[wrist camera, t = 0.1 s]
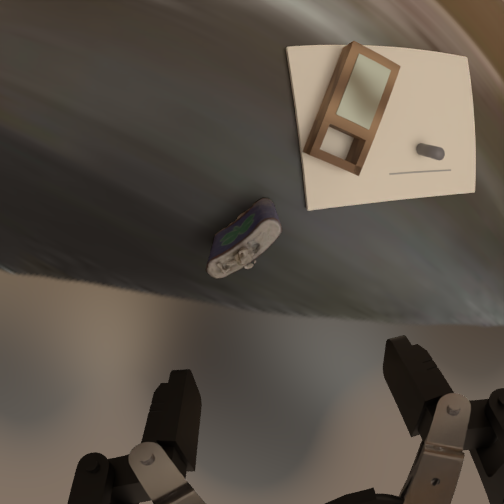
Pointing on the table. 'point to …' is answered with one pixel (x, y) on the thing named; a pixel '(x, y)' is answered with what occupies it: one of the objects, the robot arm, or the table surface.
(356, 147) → the frame
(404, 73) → the wall board
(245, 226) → the flask
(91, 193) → the table surface
